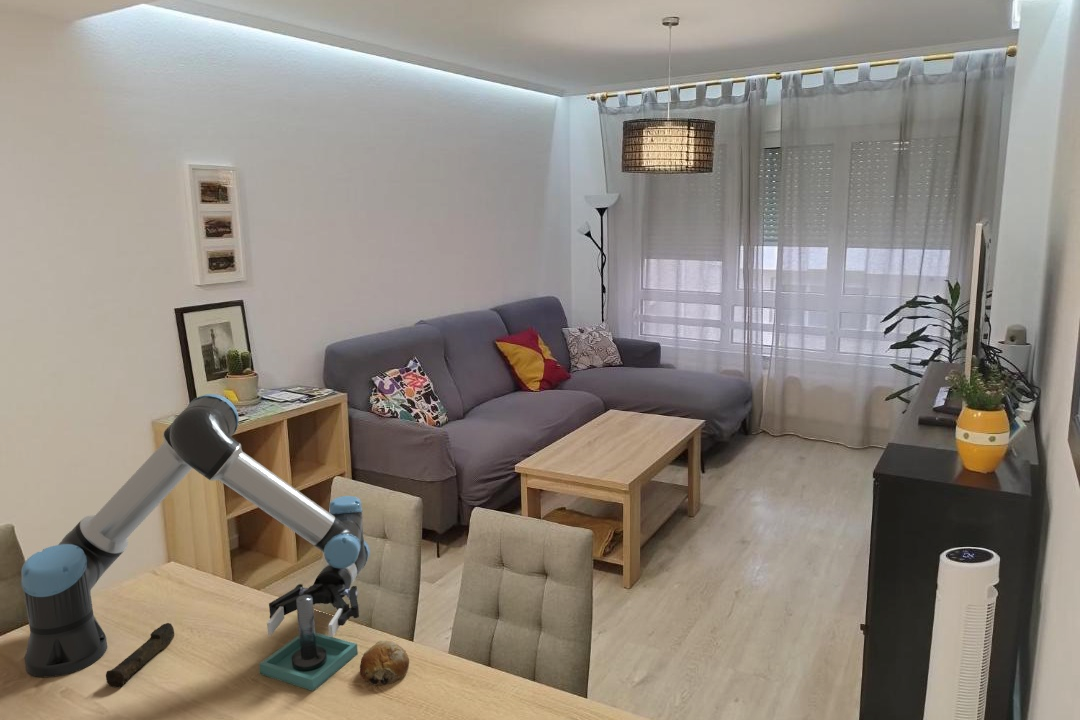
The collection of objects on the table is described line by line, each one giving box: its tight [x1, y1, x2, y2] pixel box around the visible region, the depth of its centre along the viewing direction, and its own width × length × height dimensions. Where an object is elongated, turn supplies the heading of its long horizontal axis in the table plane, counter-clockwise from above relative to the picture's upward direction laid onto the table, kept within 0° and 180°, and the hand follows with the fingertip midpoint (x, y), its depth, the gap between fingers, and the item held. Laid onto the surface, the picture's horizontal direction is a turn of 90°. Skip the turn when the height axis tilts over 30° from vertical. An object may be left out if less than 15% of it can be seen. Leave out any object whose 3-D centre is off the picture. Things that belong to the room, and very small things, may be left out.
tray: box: [258, 631, 359, 692], centre depth 163 cm, size 14×14×2 cm
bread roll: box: [359, 640, 410, 686], centre depth 160 cm, size 10×10×8 cm
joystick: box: [292, 595, 327, 672], centre depth 162 cm, size 7×7×14 cm
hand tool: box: [105, 622, 175, 688], centre depth 165 cm, size 19×4×5 cm, turn 167°
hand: (299, 630), depth 158 cm, fingers open, 12 cm apart
